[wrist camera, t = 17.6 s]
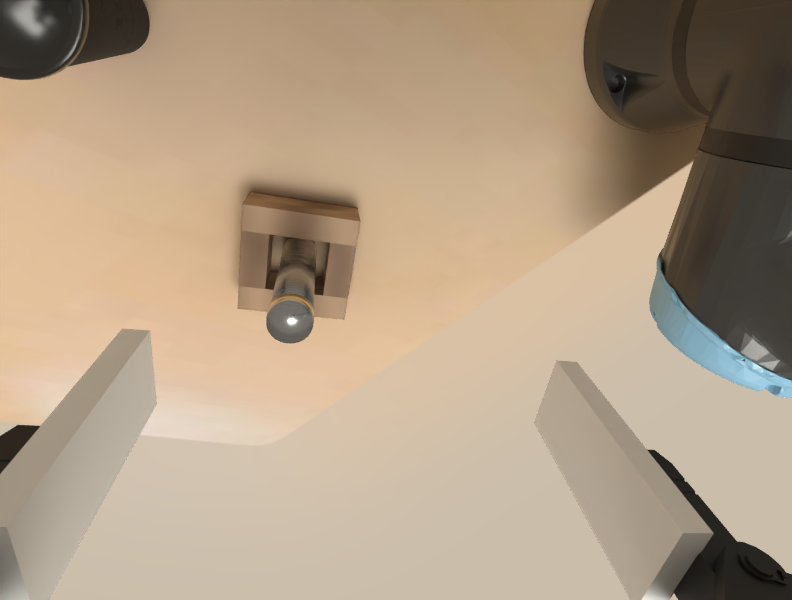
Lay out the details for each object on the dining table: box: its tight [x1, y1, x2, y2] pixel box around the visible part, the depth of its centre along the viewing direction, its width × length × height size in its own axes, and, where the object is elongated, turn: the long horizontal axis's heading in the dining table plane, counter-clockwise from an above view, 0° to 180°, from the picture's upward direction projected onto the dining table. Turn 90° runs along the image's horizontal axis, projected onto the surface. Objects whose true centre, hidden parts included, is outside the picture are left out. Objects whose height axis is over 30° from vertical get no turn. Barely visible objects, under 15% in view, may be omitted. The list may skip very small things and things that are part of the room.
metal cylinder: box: [266, 237, 317, 343], centre depth 37 cm, size 3×3×14 cm
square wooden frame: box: [238, 192, 360, 320], centre depth 41 cm, size 9×9×4 cm
